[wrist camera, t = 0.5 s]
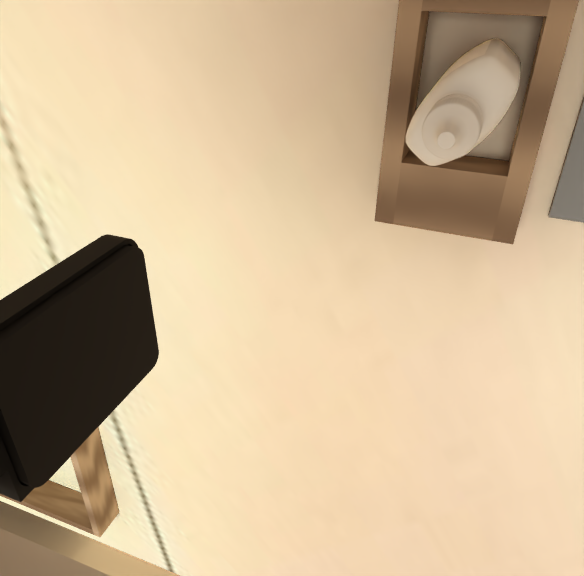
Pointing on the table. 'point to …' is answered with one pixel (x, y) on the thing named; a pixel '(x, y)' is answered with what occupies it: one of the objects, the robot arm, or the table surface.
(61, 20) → the table surface
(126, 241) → the robot arm
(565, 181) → the rubber pad
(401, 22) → the frame
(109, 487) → the box frame
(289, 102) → the table surface
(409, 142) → the eye dropper bottle
